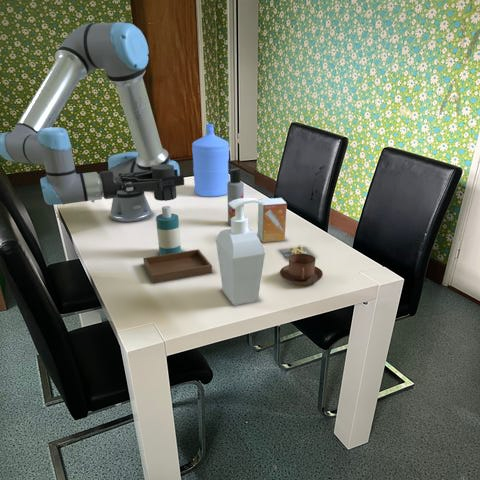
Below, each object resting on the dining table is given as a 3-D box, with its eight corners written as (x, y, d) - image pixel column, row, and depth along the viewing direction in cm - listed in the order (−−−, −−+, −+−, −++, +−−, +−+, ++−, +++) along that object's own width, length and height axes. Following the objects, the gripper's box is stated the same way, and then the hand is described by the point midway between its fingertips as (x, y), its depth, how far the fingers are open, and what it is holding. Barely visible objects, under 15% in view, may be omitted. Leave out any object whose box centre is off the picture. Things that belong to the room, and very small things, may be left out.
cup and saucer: (329, 284, 129) (331, 264, 125) (289, 291, 126) (290, 270, 122) (311, 267, 138) (313, 248, 135) (273, 272, 136) (274, 253, 132)
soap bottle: (269, 302, 120) (273, 204, 107) (233, 309, 117) (232, 210, 104) (251, 282, 130) (252, 190, 117) (217, 288, 127) (214, 195, 114)
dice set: (292, 258, 144) (292, 252, 143) (286, 252, 148) (287, 246, 147) (307, 256, 145) (308, 250, 144) (301, 250, 149) (301, 244, 148)
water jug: (216, 199, 196) (214, 128, 182) (187, 193, 204) (182, 125, 189) (236, 190, 207) (236, 123, 193) (208, 185, 215) (205, 120, 200)
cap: (152, 195, 140) (149, 165, 135) (173, 193, 142) (170, 163, 137) (157, 201, 135) (154, 170, 130) (178, 199, 137) (176, 168, 132)
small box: (262, 243, 155) (263, 204, 148) (257, 236, 160) (257, 199, 153) (285, 240, 156) (287, 202, 149) (279, 234, 162) (281, 197, 155)
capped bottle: (157, 250, 150) (152, 205, 142) (178, 247, 152) (174, 202, 144) (162, 258, 144) (157, 212, 136) (183, 255, 146) (180, 209, 139)
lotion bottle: (241, 227, 168) (241, 170, 157) (226, 226, 169) (225, 170, 158) (244, 221, 172) (244, 166, 162) (229, 220, 173) (228, 166, 163)
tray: (144, 265, 140) (143, 257, 139) (199, 256, 146) (198, 249, 144) (153, 283, 130) (152, 275, 129) (212, 273, 135) (211, 265, 134)
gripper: (98, 189, 140) (173, 181, 147) (107, 209, 124) (190, 198, 132) (94, 164, 136) (171, 157, 143) (103, 180, 121) (188, 171, 128)
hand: (180, 177), depth 137 cm, fingers closed on cap, 6 cm apart
